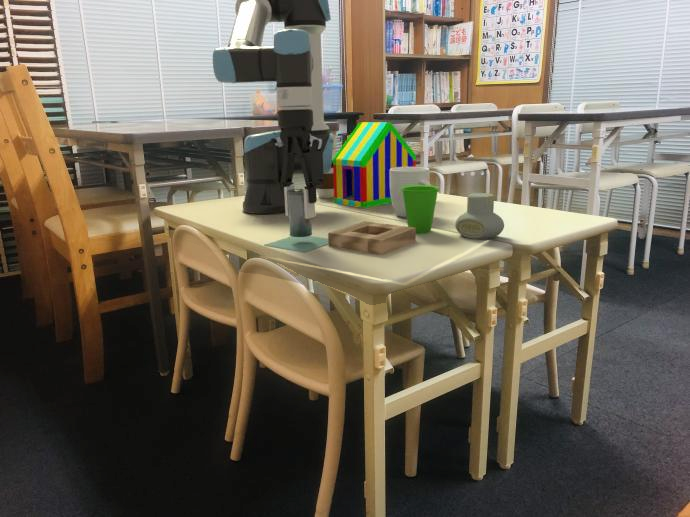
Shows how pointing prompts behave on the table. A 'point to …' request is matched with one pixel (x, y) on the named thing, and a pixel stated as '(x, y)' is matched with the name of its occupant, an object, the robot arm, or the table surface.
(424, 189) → the cup
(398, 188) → the mug
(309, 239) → the mat
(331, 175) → the coffee cup
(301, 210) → the gray metal can
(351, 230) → the socket block
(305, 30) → the robot arm
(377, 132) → the toy house
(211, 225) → the table surface
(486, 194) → the air freshener
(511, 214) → the table surface
